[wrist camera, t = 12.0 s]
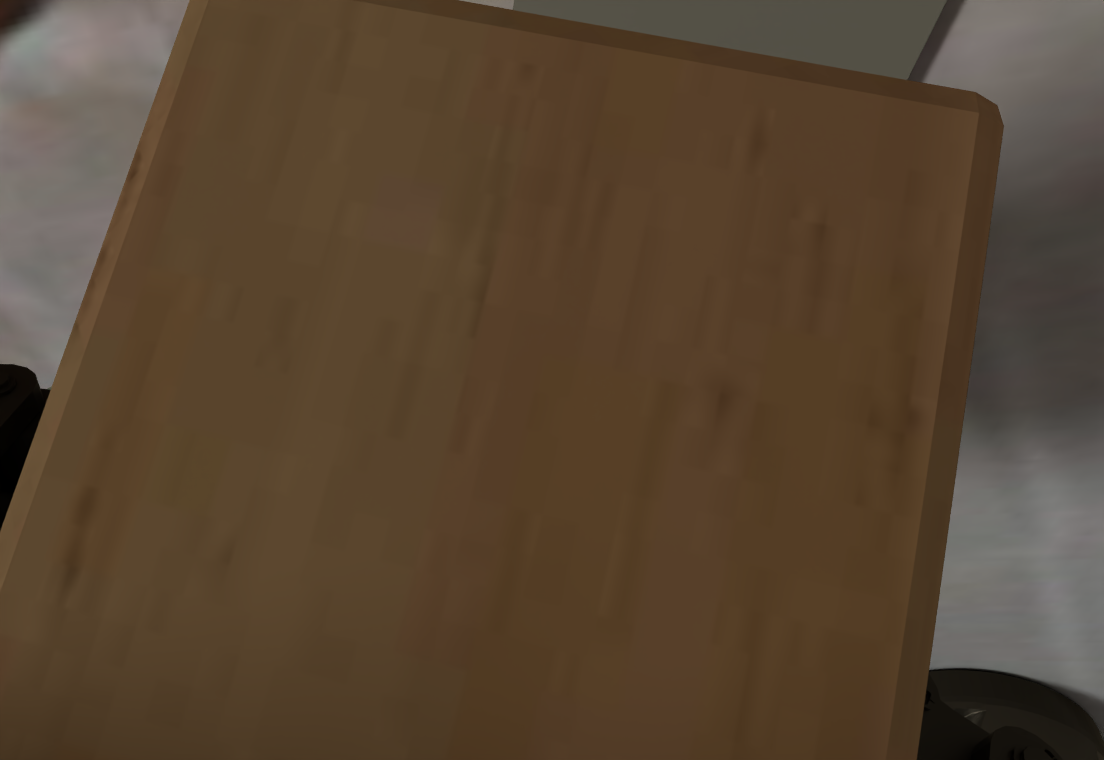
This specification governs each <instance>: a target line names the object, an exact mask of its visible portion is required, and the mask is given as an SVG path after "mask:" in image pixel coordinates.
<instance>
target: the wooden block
mask: <svg viewBox="0 0 1104 760" xmlns="http://www.w3.org/2000/svg"><path fill="white" fill-rule="evenodd" d="M1003 128H1004V125H1003V122H1002V119H1001V115H1000V112H999V109H998V106H997V105H996V104H994V103H993V102H991V101H989V100H988V99H986V98H984V97H983V96H981V95H979V94H978V93H976V92H972V91H966V90H960V89H955V88H949V87H943V86H938V85H932V84H927V83H921V82H915V81H910V80H904V79H898V78H893V77H887V76H882V75H876V74H870V73H865V72H859V71H853V70H848V69H842V68H836V67H831V66H825V65H820V64H814V63H808V62H803V61H797V60H791V59H786V58H780V57H774V56H769V55H763V54H758V53H752V52H746V51H741V50H735V49H729V48H724V47H718V46H713V45H707V44H701V43H696V42H690V41H684V40H679V39H673V38H667V37H662V36H656V35H651V34H645V33H639V32H634V31H628V30H622V29H617V28H611V27H605V26H600V25H594V24H589V23H583V22H577V21H572V20H566V19H560V18H555V17H549V16H544V15H538V14H532V13H527V12H521V11H515V10H510V9H504V8H498V7H493V6H487V5H482V4H476V3H470V2H465V1H459V0H190V1H189V4H188V7H187V10H186V12H185V15H184V18H183V21H182V24H181V26H180V29H179V32H178V35H177V38H176V40H175V43H174V46H173V49H172V52H171V54H170V57H169V60H168V63H167V66H166V68H165V71H164V74H163V77H162V80H161V82H160V85H159V88H158V91H157V94H156V96H155V99H154V102H153V105H152V108H151V110H150V113H149V116H148V119H147V122H146V124H145V127H144V130H143V133H142V136H141V138H140V141H139V144H138V147H137V150H136V152H135V155H134V158H133V161H132V164H131V166H130V169H129V172H128V175H127V178H126V181H125V183H124V186H123V189H122V192H121V195H120V197H119V200H118V203H117V206H116V209H115V211H114V214H113V217H112V220H111V223H110V225H109V228H108V231H107V234H106V237H105V239H104V242H103V245H102V248H101V251H100V253H99V256H98V259H97V262H96V265H95V267H94V270H93V273H92V276H91V279H90V281H89V284H88V287H87V290H86V293H85V295H84V298H83V301H82V304H81V307H80V309H79V312H78V315H77V318H76V321H75V323H74V326H73V329H72V332H71V335H70V337H69V340H68V343H67V346H66V349H65V351H64V354H63V357H62V360H61V363H60V365H59V368H58V371H57V374H56V377H55V379H54V382H53V385H52V388H51V391H50V393H49V396H48V399H47V402H46V405H45V407H44V410H43V413H42V416H41V419H40V422H39V424H38V427H37V430H36V433H35V436H34V438H33V441H32V444H31V447H30V450H29V452H28V455H27V458H26V461H25V464H24V466H23V469H22V472H21V475H20V478H19V480H18V483H17V486H16V489H15V492H14V494H13V497H12V500H11V503H10V506H9V508H8V511H7V514H6V517H5V520H4V522H3V525H2V528H1V531H0V760H917V754H918V746H919V739H920V732H921V724H922V717H923V710H924V703H925V695H926V688H927V681H928V674H929V666H930V659H931V652H932V644H933V637H934V630H935V623H936V615H937V608H938V601H939V594H940V586H941V579H942V572H943V565H944V557H945V550H946V543H947V535H948V528H949V521H950V514H951V506H952V499H953V492H954V485H955V477H956V470H957V463H958V455H959V448H960V441H961V434H962V426H963V419H964V412H965V405H966V397H967V390H968V383H969V376H970V368H971V361H972V354H973V346H974V339H975V332H976V325H977V317H978V310H979V303H980V296H981V288H982V281H983V274H984V267H985V259H986V252H987V245H988V237H989V230H990V223H991V216H992V208H993V201H994V194H995V187H996V179H997V172H998V165H999V157H1000V150H1001V143H1002V136H1003Z"/></svg>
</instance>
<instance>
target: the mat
mask: <svg viewBox="0 0 1104 760" xmlns="http://www.w3.org/2000/svg"><path fill="white" fill-rule="evenodd" d="M946 2H947V0H514V6H513V10H515V11H521V12H527V13H532V14H538V15H544V16H549V17H555V18H560V19H566V20H572V21H577V22H583V23H589V24H594V25H600V26H605V27H611V28H617V29H622V30H628V31H634V32H639V33H645V34H651V35H656V36H662V37H667V38H673V39H679V40H684V41H690V42H696V43H701V44H707V45H713V46H718V47H724V48H729V49H735V50H741V51H746V52H752V53H758V54H763V55H769V56H774V57H780V58H786V59H791V60H797V61H803V62H808V63H814V64H820V65H825V66H831V67H836V68H842V69H848V70H853V71H859V72H865V73H870V74H876V75H882V76H887V77H893V78H898V79H904V80H907V79H908V77H909V75H910V73H911V71H912V69H913V67H914V65H915V63H916V61H917V59H918V57H919V55H920V54H921V52H922V50H923V48H924V46H925V44H926V42H927V40H928V38H929V36H930V34H931V32H932V30H933V28H934V26H935V24H936V22H937V20H938V18H939V16H940V14H941V12H942V10H943V8H944V6H945V4H946Z"/></svg>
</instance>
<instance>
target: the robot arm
mask: <svg viewBox="0 0 1104 760" xmlns="http://www.w3.org/2000/svg"><path fill="white" fill-rule="evenodd" d="M50 391H51V390H49V389H40V386H39V383H38V380H37V377H36V375H35V373H33V372H32V371H31V370H29V369H28V368H26V367H22V366H18V365H14V364H0V531H1V528H2V525H3V522H4V520H5V517H6V514H7V511H8V508H9V506H10V503H11V500H12V497H13V494H14V492H15V489H16V486H17V483H18V480H19V478H20V475H21V472H22V469H23V466H24V464H25V461H26V458H27V455H28V452H29V450H30V447H31V444H32V441H33V438H34V436H35V433H36V430H37V427H38V424H39V422H40V419H41V416H42V413H43V410H44V407H45V405H46V402H47V399H48V396H49V393H50ZM917 760H1104V741H1103V739H1102V736H1101V734H1100V731H1099V729H1098V727H1097V725H1096V724H1095V722H1094V721H1093V719H1092V718H1091V717H1090V716H1089V715H1088V714H1087V713H1086V712H1085V711H1084V710H1083V709H1082V708H1081V707H1080V706H1078V705H1077V704H1076V703H1074V702H1073V701H1071V700H1070V699H1068V698H1066V697H1065V696H1063V695H1061V694H1059V693H1057V692H1055V691H1053V690H1051V689H1049V688H1047V687H1044V686H1041V685H1039V684H1036V683H1033V682H1030V681H1027V680H1023V679H1020V678H1016V677H1012V676H1007V675H1002V674H997V673H990V672H981V671H969V670H943V671H930V672H929V674H928V681H927V688H926V695H925V703H924V710H923V717H922V724H921V732H920V739H919V746H918V754H917Z"/></svg>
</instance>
